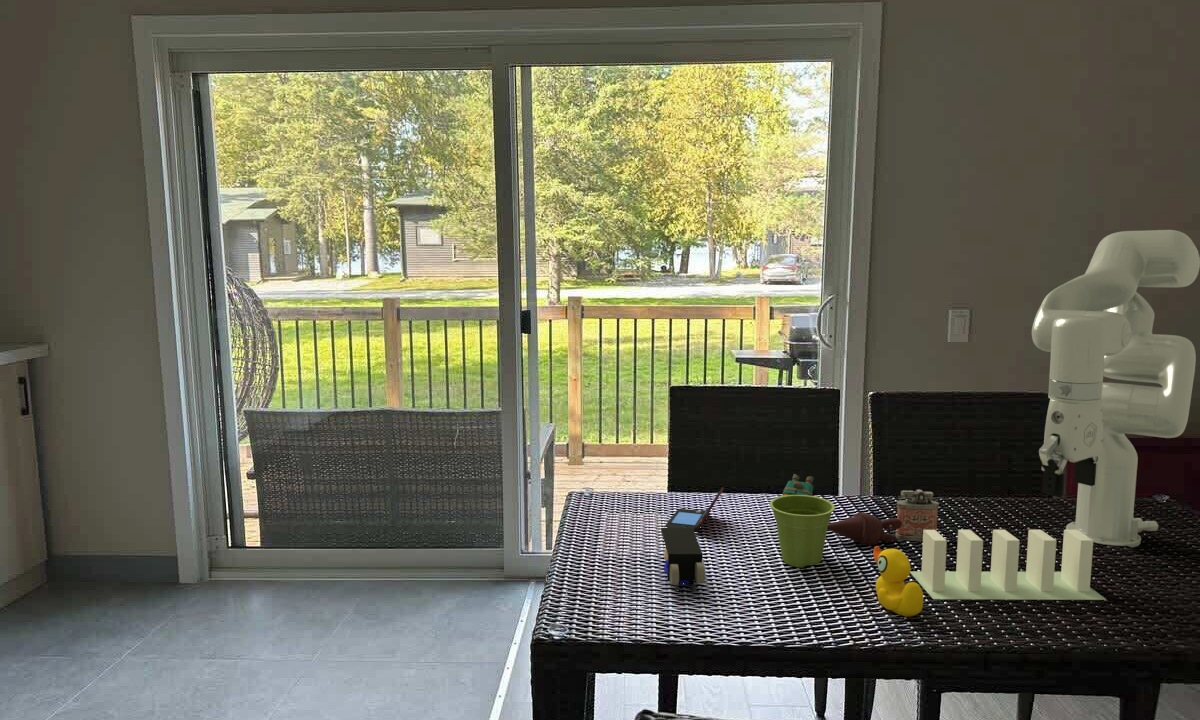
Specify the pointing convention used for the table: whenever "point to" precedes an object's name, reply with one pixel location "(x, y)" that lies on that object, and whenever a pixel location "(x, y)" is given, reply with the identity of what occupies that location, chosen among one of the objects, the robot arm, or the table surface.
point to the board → (993, 591)
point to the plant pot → (801, 527)
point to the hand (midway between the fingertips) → (1068, 489)
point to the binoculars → (799, 486)
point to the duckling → (896, 583)
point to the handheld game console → (690, 517)
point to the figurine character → (682, 557)
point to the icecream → (866, 528)
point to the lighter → (916, 515)
